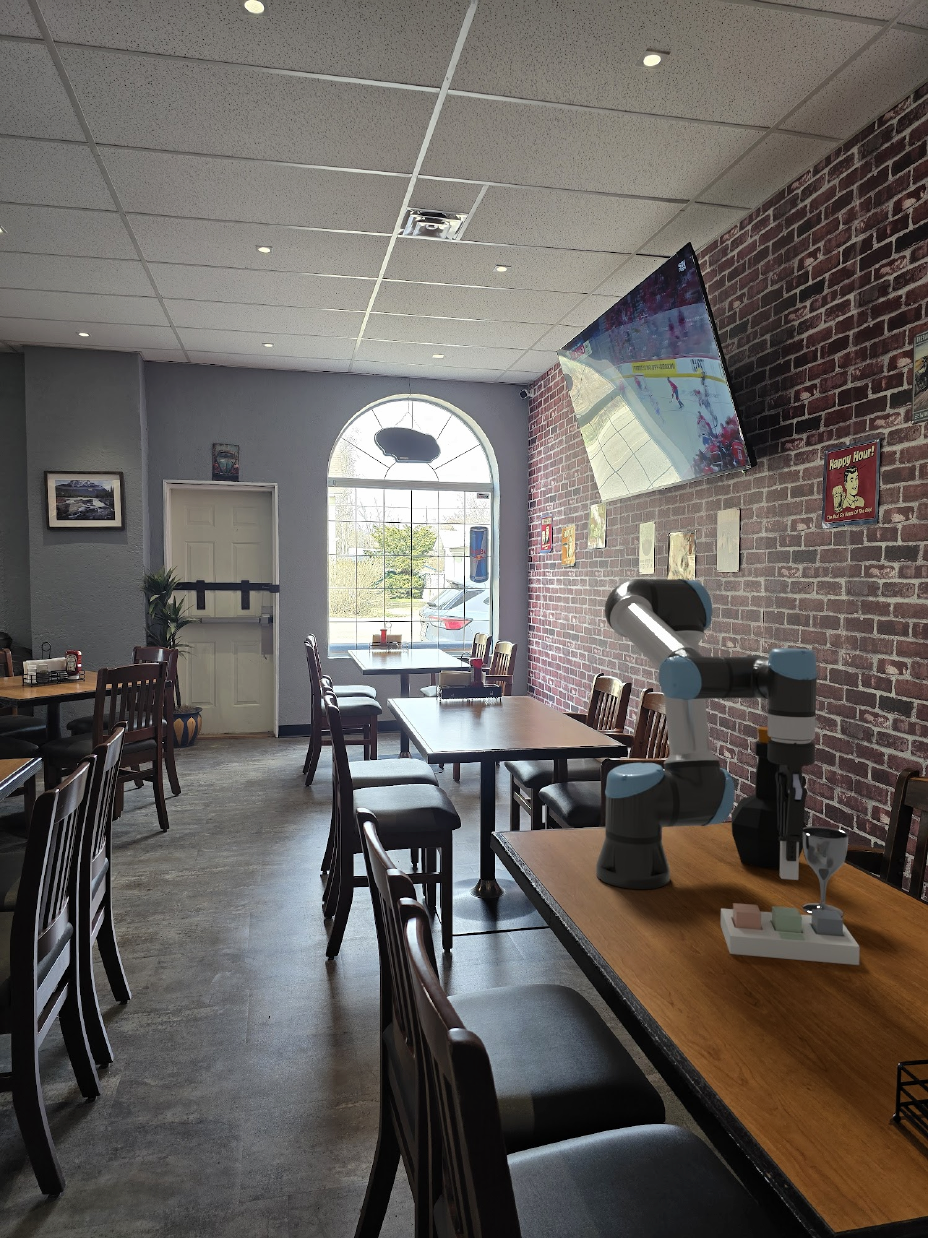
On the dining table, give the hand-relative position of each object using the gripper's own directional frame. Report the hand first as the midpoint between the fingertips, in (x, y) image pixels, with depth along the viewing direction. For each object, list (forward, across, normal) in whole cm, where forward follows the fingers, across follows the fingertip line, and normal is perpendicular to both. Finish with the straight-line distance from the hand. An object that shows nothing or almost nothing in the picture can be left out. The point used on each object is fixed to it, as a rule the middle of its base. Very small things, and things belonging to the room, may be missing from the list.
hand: (788, 877), depth 138 cm
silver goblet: (+12, +18, -10) cm, 23 cm away
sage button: (+9, 0, 0) cm, 9 cm away
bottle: (+11, +46, -5) cm, 47 cm away
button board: (+12, 0, 0) cm, 12 cm away
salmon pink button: (+9, 0, +7) cm, 11 cm away
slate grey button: (+9, 0, -6) cm, 11 cm away
